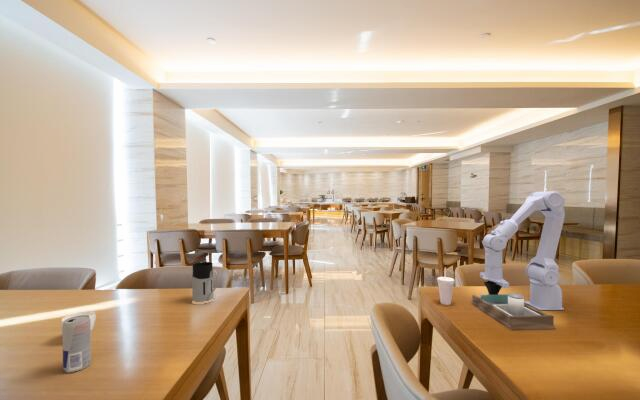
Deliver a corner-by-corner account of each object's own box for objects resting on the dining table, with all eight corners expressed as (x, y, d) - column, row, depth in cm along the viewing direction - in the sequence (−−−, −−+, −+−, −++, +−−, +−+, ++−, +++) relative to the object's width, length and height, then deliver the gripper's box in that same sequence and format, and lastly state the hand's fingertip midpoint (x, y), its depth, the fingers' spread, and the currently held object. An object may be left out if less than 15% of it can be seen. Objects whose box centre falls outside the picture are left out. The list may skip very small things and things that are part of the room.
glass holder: (206, 295, 123) (206, 260, 123) (227, 302, 115) (226, 265, 115) (186, 301, 116) (186, 264, 116) (207, 309, 108) (206, 269, 107)
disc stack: (517, 310, 101) (517, 293, 101) (527, 315, 96) (527, 297, 96) (504, 310, 101) (504, 293, 101) (513, 315, 96) (513, 297, 96)
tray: (480, 303, 110) (480, 294, 109) (508, 303, 110) (508, 294, 110) (511, 323, 93) (512, 312, 93) (544, 322, 93) (544, 311, 93)
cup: (54, 345, 82) (53, 321, 82) (82, 329, 92) (82, 308, 92) (81, 345, 82) (81, 321, 82) (107, 328, 92) (106, 308, 92)
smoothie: (451, 300, 116) (451, 266, 116) (457, 306, 110) (457, 270, 110) (434, 300, 117) (434, 265, 117) (439, 306, 111) (439, 269, 110)
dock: (471, 303, 113) (471, 293, 113) (507, 303, 113) (507, 292, 113) (510, 329, 91) (510, 317, 91) (554, 328, 91) (555, 316, 91)
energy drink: (74, 361, 74) (73, 315, 74) (96, 360, 75) (95, 314, 74) (56, 374, 69) (56, 324, 69) (80, 372, 69) (80, 323, 69)
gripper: (472, 261, 117) (472, 294, 118) (495, 270, 103) (495, 308, 103) (489, 261, 118) (489, 294, 118) (514, 270, 103) (514, 308, 103)
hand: (493, 301), depth 111 cm, fingers closed
